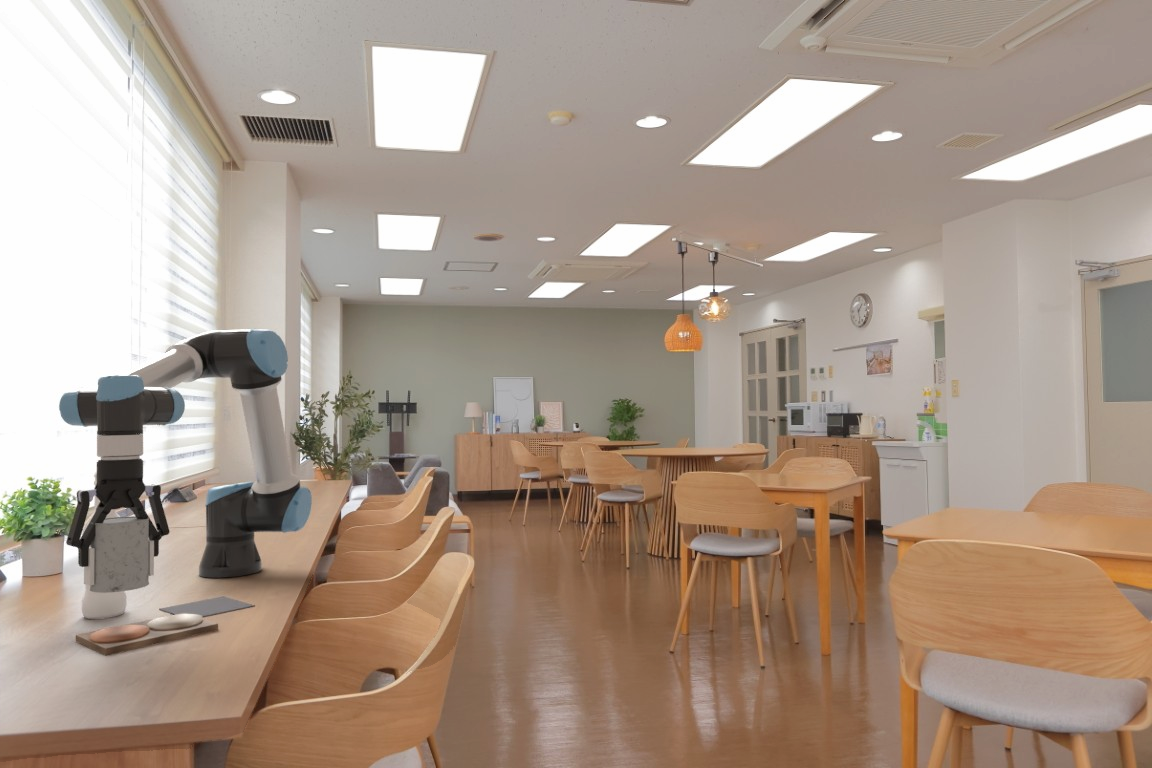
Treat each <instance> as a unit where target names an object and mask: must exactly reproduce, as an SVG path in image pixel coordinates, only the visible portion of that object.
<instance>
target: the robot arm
mask: <svg viewBox="0 0 1152 768" xmlns="http://www.w3.org/2000/svg"><path fill="white" fill-rule="evenodd" d="M288 361H289V355H288V351H287V348H286V345H285V343H284V341H283V339H282V338H281V336H280V335H279V334H277V333H276V332H275V331H274V330H271V329H259V328H251V329H250V328H247V329H246V328H245V329H228V330H226V329H224V330H219V329H218V330H216V329H215V330H211V331H210V330H209V331H205V332H202V333H200V334H197V335H194V336H191V337H188V338H186V339H183V340H180V341H179V342H177V343H175V344H172V345H171V346H169V347H168V348H167V349H166V350H165V351H164V353H163V354H161V355H159V356H157V357H154V358H153V359H151V360H148V361H146V362H144V363H141V364H139V365H138V366H135V367H133V368H131V369H129V370H126V371H125V372H123V373H121V374H109V375H107V374H106V375H105V374H104V375H102V376H100V377H99V378H98V380H97V385H93V386H92V387H87V388H84V387H78V388H71V389H68V390H66V391H65V392H64V393H63V394H62V396H61V398H60V400H59V405H58V409H59V413H60V417H61V418H62V421H64V422H65V423H67V424H68V425H70V426H78V427H79V426H80V427H84V428H87V427H97V431H96V457H98V458H100V459H97V462H96V472H97V484H96V487H95V486H94V488H93V489H87V490H84V489H80V490H77V491H76V501H77V504H76V506H75V507H76V508H75V510H74V514H73V516H72V517H73V518H72V521H71V525H70V529H69V531H68V534H67V538H66V542H65V544H66V545H67V546H69V547H70V546H71V547H74V548H77V550H78V552H77V553H78V557H77V558H78V559H77V560H78V562H77V564H78V566H79V567H82V568H83V584H84V585H85V584H86V585H89V586H90V585H94V550H95V548H91V547H90V545H91V543H92V541H93V539H94V538H95V536H96V525H95V523H103V522H104V520H105V518H106V516H107V515H108V514H109V513H110V511H111V509H115V510H118V509H122V508H123V509H130V511H132V513H133V514H134V516H136V518H138V519H148V518H149V577H151V576H154V575H155V558H156V557H159V554H160V553H159V552H160V550H159V549H160V548H159V547H160V540H162V537H165V536H168V535H169V534H170V532H171V531H170V527H169V525H168V520H167V518H166V514H165V513H166V512H165V509H164V507H163V503H162V498H161V491H162V486H161V485H159V484H150V485H146V484H145V483H144V480H143V479H144V460H143V459H142V458H140V456H143V455H144V426H166V425H172V424H175V423H176V422H178V421H179V420H180V419H181V418H182V417H183V414H184V412H185V410H186V409H185V407H186V405H185V400H184V397H183V395H182V394H181V393H180V392H179V391H178V390H175V389H174V387H176V386H178V385H179V384H181V383H186V384H187V383H192V382H194V381H196V380H198V379H207V378H208V379H209V378H223V379H225V378H229V379H230V383H231V388H232V389H233V390H235V391H236V392H238V393H239V395H240V400H241V406H242V411H243V416H244V421H245V422H244V423H245V425H246V427H245V428H246V431H247V436H248V441H249V447H250V452H251V458H252V463H253V468H254V472H255V478H256V480H255V481H246V482H245V481H244V482H238V483H233V484H232V483H230V484H224V485H220V486H215V487H210V488H209V489H208V490H207V493H206V499H205V525H206V526H205V527H206V530H205V534H206V535H205V536H206V543H205V548H204V550H203V553H202V556H201V559H200V562H199V566H198V576H199V577H203V578H209V579H210V578H213V579H215V578H222V579H223V578H233V577H241V576H247V575H251V574H256V573H258V572H260V571H262V563H263V562H262V559H261V556H260V553H259V550H258V548H257V545H256V540H255V533H282V534H283V533H284V534H285V533H292V532H293V533H294V532H295V533H296V532H299V531H301V530H302V529H303V528H304V527H305V526H306V524H307V522H308V520H309V518H310V515H311V510H312V503H313V502H312V501H313V499H312V492H311V490H310V488H308V487H306V486H301V482H300V478H299V476H298V475H297V474H294V473H293V472H292V468H291V462H290V461H291V460H290V456H289V451H288V445H287V444H288V443H287V439H286V434H285V433H286V432H285V428H284V421H283V418H282V417H283V416H282V410H281V406H280V399H279V394H278V385H279V384H280V383H281V381H282V380H283V379H282V376H283V375H285V373H286V371H287V369H288ZM144 493H145V496H147V497H148V498H147V499H148V502H149V506H150V509H151V513H152V516H153V520H154V523H153V522H152V519H151V518H150V517H149V514H148V513H147V511H146V510H145V508H144V504H143V503H142V501H141V500H140V498H141V497H142V495H143V494H144ZM95 495H96V497H97V498H98V499H99V500H100V503H99V505H98V506H97V508H96V512H95V514H94V516H93V517H92V519H91V521H90V522H91V523H93V524H91V523H89V524H88V526H87V528H86V530H85V531H84V533H83V535H82V532H83V527H84V525H85V523H86V521H87V517H88V516H87V515H88V513H89V510H90V505H91V504H90V503H91V502H92V501H93V500H94V498H95ZM154 524H155V525H154Z"/></svg>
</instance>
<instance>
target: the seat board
mask: <svg viewBox="0 0 1152 768" xmlns="http://www.w3.org/2000/svg"><path fill="white" fill-rule="evenodd" d="M218 630H219V623H218V622H215V621H212V620H210V619H209V620H208V619H205V618H204V617H202V616H201V615H198V614H188V613H180V614H175V615H173V614H170V615H165V616H160V617H156V618H152V619H148V620H147V619H146V620H143V621H136V622H132V623H128V624H122V625H117V626H112V627H107V628H102V629H97V630H93V631H87V632H83V633H78V634H75V642H76V643H78V644H79V645H83V646H84V647H86V648H89V649H91V650H93V651H95V652H97V653H99V654H102V656H103V655H104V656H109V655H114V654H119V653H122V652H128V651H130V650H136V649H139V648H140V649H141V648H144V647H150V646H154V645H159V644H161V643H166V642H171V641H176V640H180V639H183V638H188V637H193V636H197V635H202V634H205V633H206V634H207V633H210V632H214V631H218Z"/></svg>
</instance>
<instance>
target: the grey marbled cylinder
mask: <svg viewBox="0 0 1152 768" xmlns="http://www.w3.org/2000/svg"><path fill="white" fill-rule="evenodd" d="M149 518H150V517H149ZM149 518H148V519H138V518H136V516H135V515H134V516H120V517H115V518H105V520H104V522H103V523H95V525H96V536H95V538H94V539H93V541H92V543H91V545H90V547H91V548H95V550H94V585H90V591H92V592H99V593H107V592H121V591H125V592H128V591H133V590H139V589H141V588H145V587H147V586H149V584H150V582H149V579H150V578H149V577H150V576H149ZM90 523H91V522H90ZM91 524H93V523H91Z"/></svg>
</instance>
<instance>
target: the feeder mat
mask: <svg viewBox="0 0 1152 768" xmlns="http://www.w3.org/2000/svg"><path fill="white" fill-rule="evenodd" d="M255 606H256V605H255V604H252V603H248V602H245V601H241V600H238V599H234V598H230V597H227V596H218V597H211V598H208V599H203V600H195V601H193V602H186V603H183V604H176V605H171V606H165V607H162V608H159V611H162V612H165V613H168V614H170V615H173V614H174V615H175V614H180V613H188V614H198V615H201V616H202V617H203V618H206V617H210V616H214V615H215V616H216V615H218V614H224V613H229V612H233V611H234V612H235V611H239V610H244V609H246V608H252V607H255Z"/></svg>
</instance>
